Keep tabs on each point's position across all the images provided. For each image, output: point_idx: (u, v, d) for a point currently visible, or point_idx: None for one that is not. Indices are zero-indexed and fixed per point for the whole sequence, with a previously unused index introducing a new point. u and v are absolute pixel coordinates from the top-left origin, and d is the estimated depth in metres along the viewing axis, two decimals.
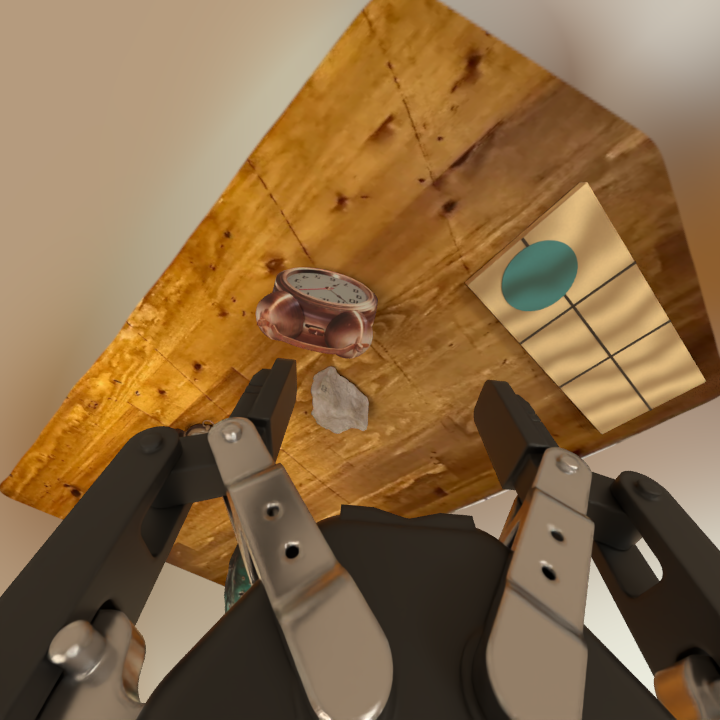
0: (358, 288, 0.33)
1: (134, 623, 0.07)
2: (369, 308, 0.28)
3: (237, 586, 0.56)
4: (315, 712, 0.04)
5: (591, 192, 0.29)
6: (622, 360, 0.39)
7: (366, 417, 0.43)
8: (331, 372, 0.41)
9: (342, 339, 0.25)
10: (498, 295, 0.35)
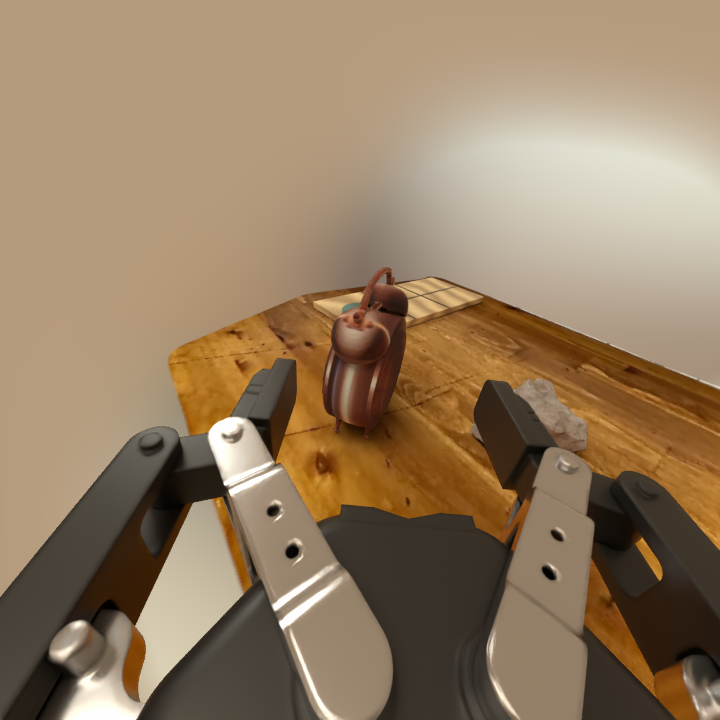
0: None
1: (134, 623, 0.07)
2: None
3: None
4: (315, 712, 0.04)
5: (319, 300, 0.53)
6: (422, 293, 0.62)
7: None
8: None
9: (381, 285, 0.26)
10: None
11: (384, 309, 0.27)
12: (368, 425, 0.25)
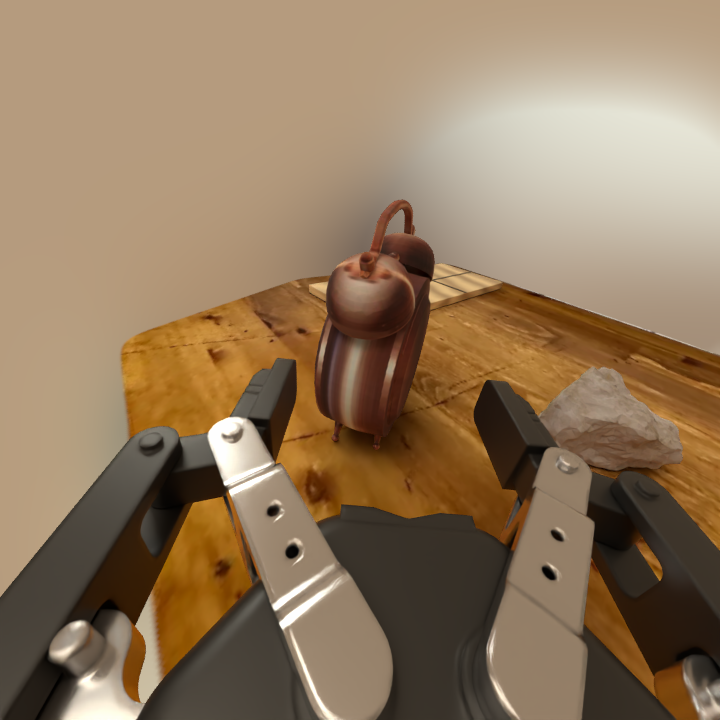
0: None
1: (134, 623, 0.07)
2: None
3: None
4: (315, 712, 0.04)
5: None
6: (433, 277, 0.54)
7: None
8: None
9: (397, 234, 0.18)
10: None
11: None
12: (381, 432, 0.17)
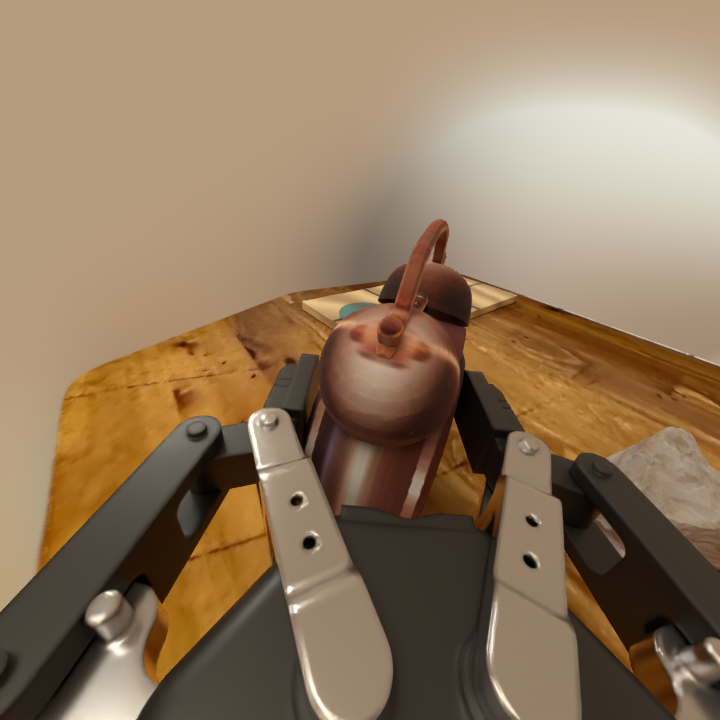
0: None
1: (163, 598, 0.07)
2: None
3: None
4: (310, 702, 0.04)
5: (310, 300, 0.40)
6: None
7: None
8: None
9: None
10: None
11: (424, 311, 0.14)
12: None
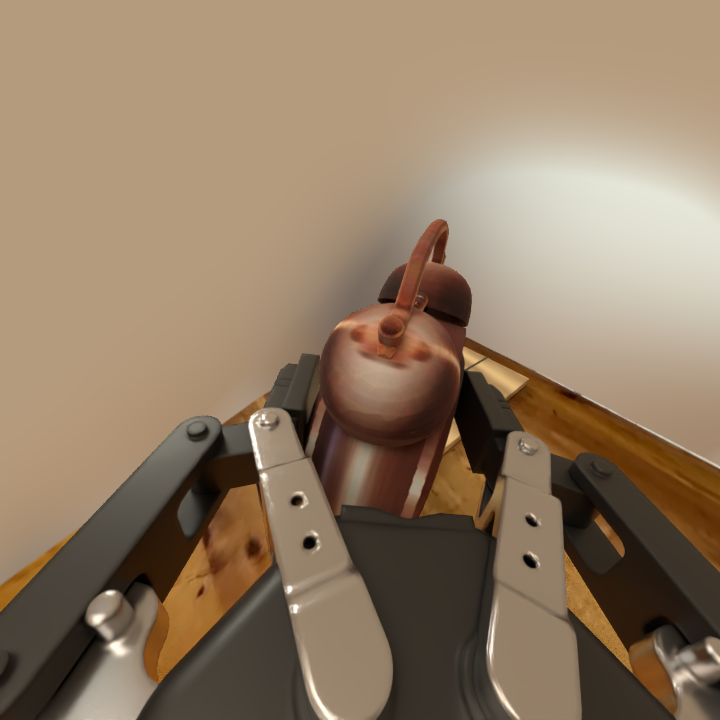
0: None
1: (164, 598, 0.07)
2: None
3: None
4: (310, 702, 0.04)
5: None
6: None
7: None
8: None
9: None
10: None
11: (423, 311, 0.14)
12: None
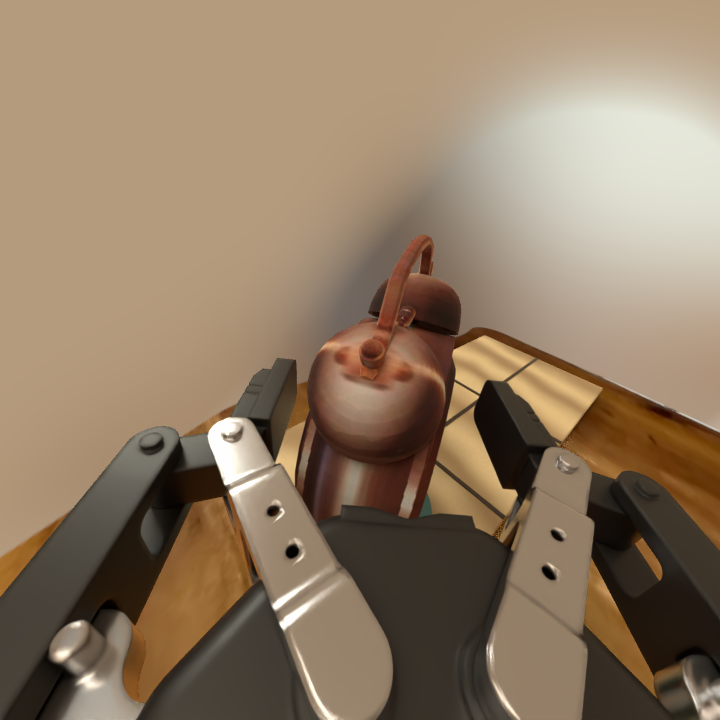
0: None
1: (134, 623, 0.07)
2: None
3: None
4: (315, 712, 0.04)
5: None
6: None
7: None
8: None
9: (411, 275, 0.13)
10: None
11: (414, 321, 0.14)
12: None
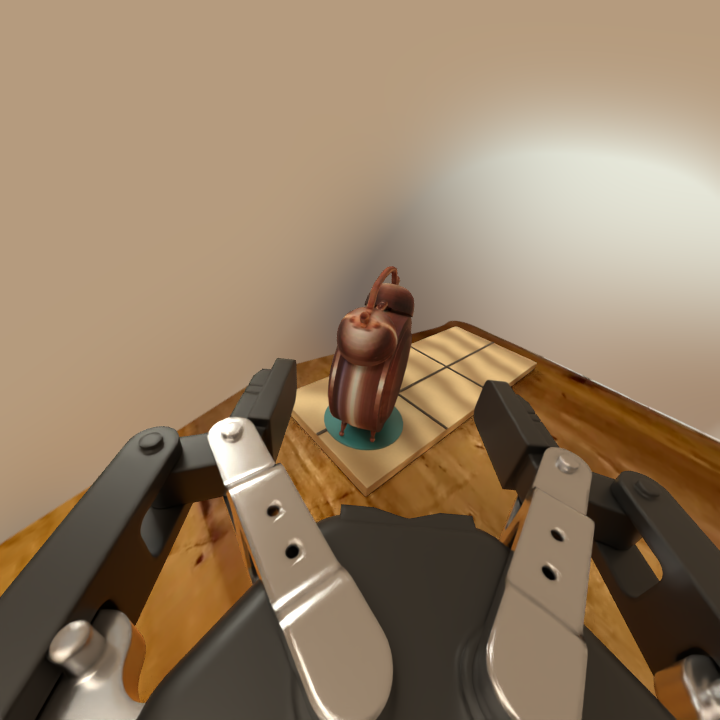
0: None
1: (134, 623, 0.07)
2: None
3: None
4: (315, 712, 0.04)
5: None
6: (448, 361, 0.42)
7: None
8: None
9: (386, 285, 0.25)
10: (383, 452, 0.27)
11: (389, 309, 0.27)
12: (375, 428, 0.24)
